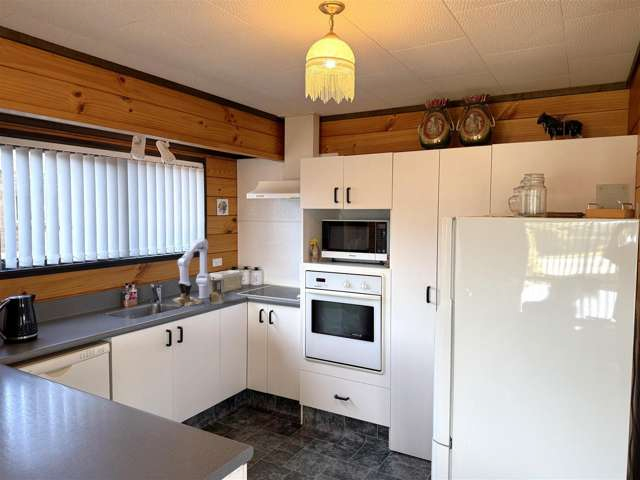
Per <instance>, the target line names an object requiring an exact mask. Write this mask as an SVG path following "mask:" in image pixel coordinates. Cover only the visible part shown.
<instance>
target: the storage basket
mask: <svg viewBox="0 0 640 480" xmlns="http://www.w3.org/2000/svg"><path fill="white" fill-rule="evenodd" d="M208 274H209V275H210V277H211V280H224V293H226V292H227V293H228V292H230V291H236V290H240V289H242V284H243V283H242V282H243V281H242V280H243V271H242V270H231V269H230V270H223V271H217V272H211V273H208Z"/></svg>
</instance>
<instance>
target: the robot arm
mask: <svg viewBox="0 0 640 480" xmlns="http://www.w3.org/2000/svg"><path fill="white" fill-rule="evenodd" d="M208 250H209V241H208V239H206V238H193V240H192V241H191V246H190V248H189V249H188V250H186V251H185V253H184V254H183V255H182V256H181V257H180V258H178V259H177V262H176V263H177V266H178V269H179V279H180V280H179V281H178V283H177V285H178V287H179V290H180V294H186V296H189V294H190V295H191V289H192V287H193V285H192V284H191V282H190V277H189V275H190V274H189V266H190V263H191V259H193V257H194V253H195V252H196V251H198V252H199V273H198V274H197V275H196V279H195V284H196V285H197V286H198V292H199V293H198V295H199V296H197V299H199V300H204V299H210V298H209V283H208V282H209V281H210V280H211V277H210V275H209V274H210V273H208Z"/></svg>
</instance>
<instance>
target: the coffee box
mask: <svg viewBox="0 0 640 480" xmlns="http://www.w3.org/2000/svg"><path fill="white" fill-rule="evenodd" d="M208 283H209V298H208V299H209V304H210V305H223V304H225V302H226V300H225V292H224V280H210V281H209V282H208Z"/></svg>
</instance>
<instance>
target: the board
mask: <svg viewBox="0 0 640 480" xmlns="http://www.w3.org/2000/svg"><path fill="white" fill-rule="evenodd" d="M192 298H194V299H195V300H193V301H186V302H184V305H183V306H184V307H189V306H190V305H191V306H195V304H197V305H202V303H203V304H204V302H203V299H200V298H195V297H193V296H190V299H192ZM178 299H181V296H179V297H174V298H172V301H173V302H174V301H175V302H174V303H176V302H177V303H176V304H178ZM191 306H190V307H191Z"/></svg>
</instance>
